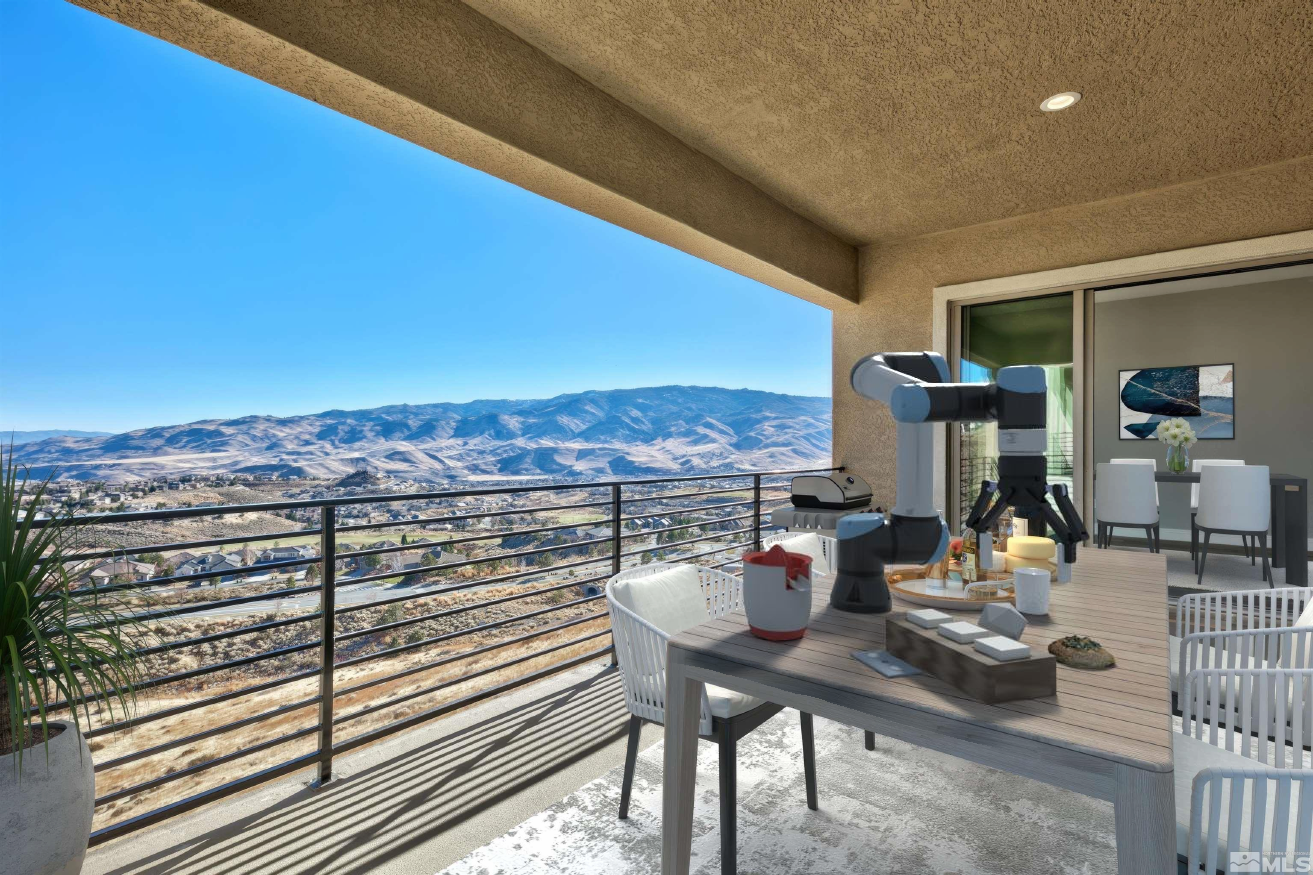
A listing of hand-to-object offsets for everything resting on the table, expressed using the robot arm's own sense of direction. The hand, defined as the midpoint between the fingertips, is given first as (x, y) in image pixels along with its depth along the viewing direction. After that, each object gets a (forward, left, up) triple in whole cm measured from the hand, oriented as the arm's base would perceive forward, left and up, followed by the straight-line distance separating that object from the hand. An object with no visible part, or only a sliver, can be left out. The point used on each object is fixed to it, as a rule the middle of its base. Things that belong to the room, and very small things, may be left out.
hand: (1023, 574), depth 110 cm
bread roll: (-7, +21, -20) cm, 30 cm away
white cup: (-35, +39, -20) cm, 56 cm away
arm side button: (-18, -5, -14) cm, 23 cm away
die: (-20, +15, -20) cm, 32 cm away
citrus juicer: (-38, -28, -20) cm, 51 cm away
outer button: (0, -5, -14) cm, 15 cm away
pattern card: (-16, -17, -19) cm, 30 cm away
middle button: (-9, -5, -14) cm, 18 cm away
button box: (-9, -5, -19) cm, 22 cm away
